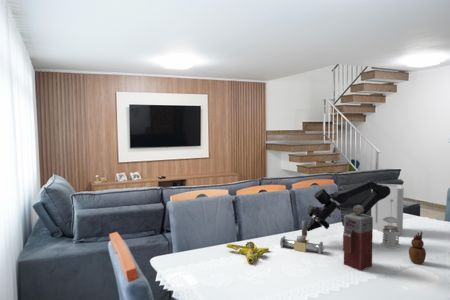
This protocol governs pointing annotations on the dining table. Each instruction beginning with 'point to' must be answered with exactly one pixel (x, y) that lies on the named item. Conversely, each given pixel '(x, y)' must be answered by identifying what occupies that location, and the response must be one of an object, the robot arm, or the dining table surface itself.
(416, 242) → the wooden figurine
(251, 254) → the yellow toy airplane
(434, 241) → the dining table surface
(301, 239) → the lever
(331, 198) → the robot arm
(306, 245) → the valve body
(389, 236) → the french press
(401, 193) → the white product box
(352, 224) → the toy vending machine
